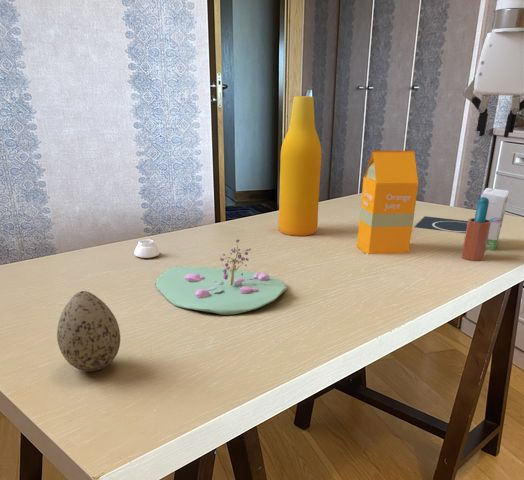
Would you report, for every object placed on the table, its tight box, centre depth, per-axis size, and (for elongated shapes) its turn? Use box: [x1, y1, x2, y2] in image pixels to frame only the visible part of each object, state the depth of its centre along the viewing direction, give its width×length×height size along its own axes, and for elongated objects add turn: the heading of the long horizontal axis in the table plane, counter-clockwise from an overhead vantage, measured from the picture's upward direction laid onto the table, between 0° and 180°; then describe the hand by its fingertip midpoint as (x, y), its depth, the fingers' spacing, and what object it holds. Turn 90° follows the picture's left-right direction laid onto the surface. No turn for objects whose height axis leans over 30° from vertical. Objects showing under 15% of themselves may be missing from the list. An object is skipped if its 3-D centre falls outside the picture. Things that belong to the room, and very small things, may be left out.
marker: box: [474, 197, 489, 223], centre depth 104 cm, size 2×2×12 cm
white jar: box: [133, 238, 161, 259], centre depth 106 cm, size 5×3×5 cm
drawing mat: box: [414, 215, 468, 235], centre depth 131 cm, size 18×16×1 cm
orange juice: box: [356, 150, 419, 255], centre depth 108 cm, size 8×9×20 cm
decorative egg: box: [56, 290, 121, 372], centre depth 63 cm, size 7×7×10 cm
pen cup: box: [461, 217, 491, 262], centre depth 105 cm, size 4×4×8 cm
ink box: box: [480, 187, 510, 252], centre depth 114 cm, size 8×5×12 cm, turn 154°
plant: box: [155, 239, 288, 316], centre depth 88 cm, size 25×21×9 cm
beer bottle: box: [277, 95, 323, 237], centre depth 119 cm, size 9×9×29 cm
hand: (493, 135), depth 101 cm, fingers open, 3 cm apart
